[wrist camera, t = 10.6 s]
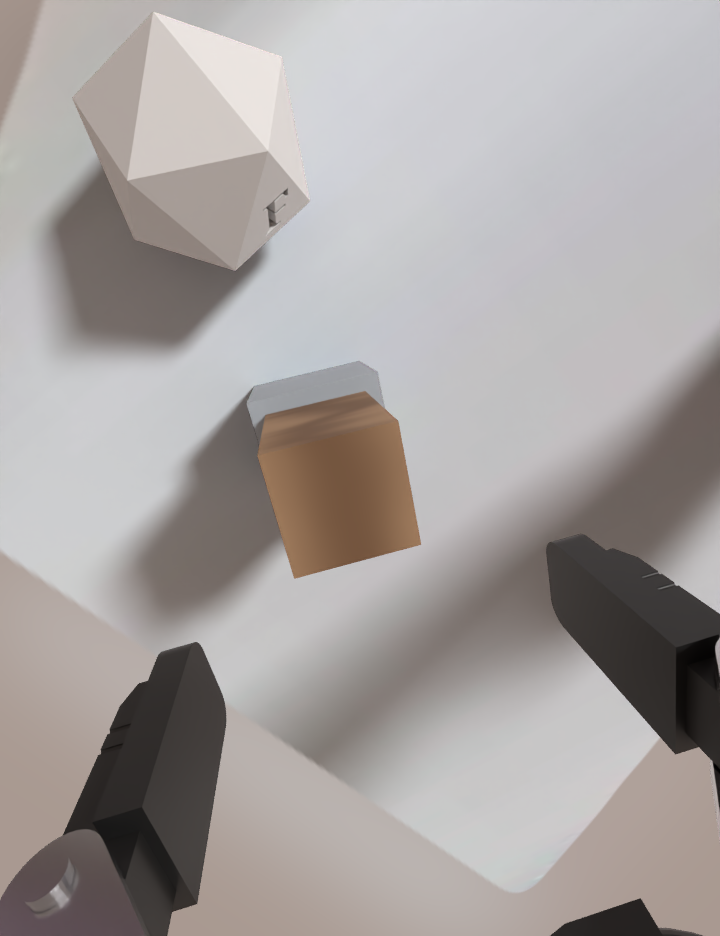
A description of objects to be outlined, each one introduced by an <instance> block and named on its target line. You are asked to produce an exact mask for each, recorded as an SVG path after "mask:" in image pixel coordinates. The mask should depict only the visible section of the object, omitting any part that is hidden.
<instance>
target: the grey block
mask: <svg viewBox="0 0 720 936" xmlns="http://www.w3.org/2000/svg"><path fill="white" fill-rule="evenodd" d="M363 391H366V392H367V393H368V394H369V395H370V396H371V397H372V398H374V399H375V400H376V401H377V402H378V403H379V404H380V405H381V406H382V407H383V408H385V407H384V402H383V397H382V392H381V387H380V382H379V377H378V372H377V371H376V370H374V369H372V368H370V367H369V366H367V365H365V364H364V363H362V362H360V361H357V362H352V363H348V364H344V365H340V366H336V367H332V368H327V369H323V370H319V371H315V372H311V373H307V374H302V375H298V376H294V377H290V378H286V379H282V380H277V381H273V382H269V383H265V384H261V385H257V386H254V388H253V390H252V392H251V394H250V396H249V399H248V401H247V403H246V404H247V407H248V410H249V414H250V417H251V420H252V424H253V427H254V430H255V433H256V437H257V440H258V443H259V445H260V440H261V435H262V430H263V425H264V420H265V415H267V414H271V413H275V412H279V411H283V410H288V409H292V408H296V407H300V406H304V405H309V404H313V403H317V402H321V401H325V400H329V399H334V398H338V397H342V396H346V395H350V394H355V393H359V392H363Z"/></svg>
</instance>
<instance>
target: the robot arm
mask: <svg viewBox="0 0 720 936" xmlns="http://www.w3.org/2000/svg"><path fill="white" fill-rule="evenodd" d="M546 553H547V563H548V572H549V582H550V591H551V600H552V605H553V608H554V611H555V613H556V615H557V617H558V619H559V621H560V623H561V624H562V626H563V627H564V628H565V629H566V630H567V632H568V633H569V634H570V635H571V636H572V637H573V638H574V639H575V641H576V642H577V643H578V644H579V645H580V646H581V647H582V649H583V650H584V651H585V652H586V653H587V654H588V655H589V657H590V658H591V659H592V660H593V661H594V662H595V663H596V665H597V666H598V667H599V668H600V669H601V670H602V671H603V672H604V674H605V675H606V676H607V677H608V678H609V679H610V680H611V682H612V683H613V684H614V685H615V686H616V687H617V688H618V690H619V691H620V692H621V693H622V694H623V695H624V696H625V698H626V699H627V700H628V701H629V702H630V703H631V704H632V706H633V707H634V708H635V709H636V710H637V711H638V712H639V713H640V715H641V716H642V717H643V718H644V719H645V720H646V721H647V723H648V724H649V725H650V726H651V727H652V728H653V729H654V731H655V732H656V733H657V734H658V735H659V736H660V737H661V738H662V740H663V741H664V742H665V743H666V744H667V745H668V747H669V748H670V749H671V750H672V751H673V752H674V753H675V754H678V753H681V752H685V751H687V750H691V749H694V748H697V747H700V749H701V750H702V751H703V752H704V753H705V754H706V755H707V756H708V757H709V758H710V759H711V761H710V774H711V781H712V788H713V796H714V803H715V810H716V818H717V825H718V832H719V840H720V614H719V613H717V612H716V611H715V610H713V609H712V608H710V607H709V606H707V605H706V604H704V603H703V602H702V601H700V600H699V599H697V598H696V597H694V596H693V595H691V594H690V593H689V592H687V591H686V590H684V589H683V588H681V587H680V586H676V585H675V584H674V582H673V581H671V580H670V579H668V578H667V577H666V576H664V575H663V574H659V573H658V571H657V570H655V569H654V568H653V567H651V566H650V565H648V564H647V563H645V562H644V561H642V560H641V559H640V558H638V557H635V556H632V555H630V554H627V553H624V552H621V551H618V550H616V549H609V550H605V549H603V548H602V547H601V546H599V545H598V544H596V543H595V542H594V541H592V540H591V539H590V538H588V537H587V536H585V535H583V534H578V535H575V536H571V537H568V538H564V539H561V540H557V541H554V542H550V543H548V545H547V549H546ZM225 728H226V708H225V702H224V698H223V695H222V693H221V690H220V688H219V686H218V683H217V681H216V679H215V676H214V674H213V672H212V669H211V667H210V665H209V662H208V660H207V658H206V655H205V653H204V651H203V649H202V647H201V645H200V644H199V643H197V642H194V643H191V644H187V645H184V646H180V647H177V648H173V649H170V650H166V651H163V652H161V653H160V654H159V655H158V657H157V659H156V662H155V665H154V667H153V670H152V672H151V675H150V677H149V680H148V681H146V682H142V683H139V684H138V685H137V686H136V687H135V689H134V690H133V691H132V692H131V693H130V695H129V696H128V697H127V698H126V700H125V701H124V702H123V703H122V704H121V706H120V707H119V710H118V712H117V714H116V716H115V719H114V721H113V723H112V725H111V728H110V734H108V735H107V737H106V739H105V741H104V743H103V746H102V748H101V754H100V755H98V757H97V759H96V762H95V764H94V766H93V768H92V771H91V773H90V775H89V777H88V780H87V782H86V785H85V786H84V789H83V791H82V793H81V796H80V798H79V800H78V802H77V804H76V807H75V809H74V812H73V814H72V816H71V818H70V820H69V823H68V825H67V827H66V829H65V832H64V834H63V836H61V837H59V838H57V839H56V840H54V841H52V842H51V843H50V844H48V845H47V846H45V847H44V848H43V849H41V850H40V851H39V852H38V853H37V854H36V855H35V856H33V857H32V858H31V859H30V860H29V861H28V862H27V863H26V864H25V865H24V866H23V867H22V869H21V870H20V871H19V872H18V874H17V875H16V876H15V877H14V879H13V880H12V881H11V883H10V884H9V886H8V887H7V889H6V891H5V892H4V894H3V895H2V897H1V900H0V936H167V934H168V929H169V924H170V919H171V914H172V912H173V911H176V910H179V909H182V908H186V907H189V906H192V905H195V904H197V901H198V895H199V889H200V883H201V877H202V870H203V864H204V858H205V852H206V846H207V840H208V833H209V827H210V821H211V815H212V809H213V802H214V796H215V790H216V784H217V778H218V771H219V765H220V759H221V753H222V746H223V741H224V735H225ZM551 936H702V935H699V934H696V933H692V932H687V931H682V930H676V929H671V928H658V927H657V925H656V923H655V922H654V920H653V918H652V917H651V915H650V913H649V912H648V910H647V908H646V907H645V905H644V903H643V902H642V900H641V899H637V900H635V901H631V902H628V903H625V904H623V905H619V906H616V907H613V908H610V909H607V910H604V911H601V912H599V913H596V914H593V915H590V916H587V917H584V918H581V919H578V920H575V921H572V922H569V923H566V924H564V925H563V926H562V927H561V928H559V929H558V930H557V931H556V932H554V933H553V934H552V935H551Z"/></svg>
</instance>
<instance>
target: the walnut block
mask: <svg viewBox="0 0 720 936" xmlns="http://www.w3.org/2000/svg"><path fill="white" fill-rule="evenodd" d="M257 456H258V459H259V463H260V466H261V469H262V473H263V476H264V479H265V483H266V486H267V489H268V493H269V496H270V499H271V503H272V506H273V509H274V513H275V516H276V519H277V523H278V526H279V529H280V532H281V536H282V539H283V542H284V546H285V549H286V552H287V556H288V559H289V562H290V566H291V569H292V572H293V576H294V579H295V578H299V577H302V576H306V575H310V574H313V573H317V572H321V571H325V570H328V569H332V568H336V567H340V566H343V565H347V564H351V563H354V562H358V561H362V560H366V559H369V558H373V557H377V556H380V555H384V554H388V553H392V552H395V551H399V550H403V549H407V548H410V547H414V546H418V545H421V541H420V536H419V530H418V525H417V520H416V514H415V509H414V503H413V498H412V493H411V487H410V482H409V477H408V471H407V466H406V460H405V455H404V450H403V444H402V439H401V433H400V428H399V423H398V420H397V419H396V418H394V417H393V416H392V415H391V414H390V413H389V412H388V411H387V410H386V409H385V408H383V407H382V406H381V405H380V404H379V403H378V402H377V401H376V400H375V399H374V398H372V397H371V396H370V395H369V394H368V393H367V392H366V391H363V392H359V393H355V394H350V395H346V396H342V397H338V398H334V399H329V400H325V401H321V402H317V403H313V404H309V405H304V406H300V407H296V408H292V409H288V410H283V411H279V412H275V413H271V414H267V415H265V420H264V425H263V430H262V435H261V440H260V445H259V450H258V455H257Z"/></svg>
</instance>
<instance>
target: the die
mask: <svg viewBox="0 0 720 936" xmlns="http://www.w3.org/2000/svg"><path fill="white" fill-rule="evenodd" d="M72 98H73V101H74V103H75V105H76V108H77V110H78V112H79V114H80V117H81V119H82V121H83V124H84V126H85V128H86V131H87V133H88V135H89V137H90V140H91V142H92V144H93V147H94V149H95V151H96V153H97V156H98V158H99V160H100V163H101V165H102V167H103V169H104V172H105V174H106V176H107V179H108V181H109V183H110V185H111V188H112V190H113V192H114V195H115V197H116V199H117V201H118V204H119V206H120V208H121V211H122V213H123V215H124V217H125V220H126V222H127V224H128V227H129V229H130V231H131V233H132V236H133V238H134V240H137V241H140V242H143V243H146V244H150V245H153V246H156V247H159V248H163V249H166V250H169V251H172V252H176V253H179V254H182V255H185V256H188V257H192V258H195V259H198V260H201V261H205V262H208V263H211V264H214V265H218V266H221V267H224V268H227V269H230V270H234V271H236V270H237V269H238V268H239V267H240V266H241V265H242V264H243V263H244V262H246V261H247V260H248V259H249V258H250V257H251V256H252V255H253V254H254V253H255V252H256V251H257V250H258V249H259V248H261V247H262V246H263V245H264V244H265V243H266V242H267V241H268V240H269V239H270V238H271V237H272V236H273V235H274V234H276V233H277V232H278V231H279V230H280V229H281V228H282V227H283V226H284V225H285V224H286V223H287V222H288V221H289V220H291V219H292V218H293V217H294V216H295V215H296V214H297V213H298V212H299V211H300V210H301V209H302V208H303V207H304V206H306V205H307V204H308V203H309V202H310V197H309V192H308V187H307V182H306V177H305V172H304V167H303V161H302V156H301V151H300V146H299V141H298V136H297V131H296V126H295V120H294V115H293V110H292V105H291V100H290V95H289V90H288V85H287V79H286V74H285V69H284V64H283V59H282V57H281V56H278V55H276V54H273V53H270V52H267V51H264V50H261V49H258V48H256V47H253V46H250V45H247V44H244V43H241V42H238V41H236V40H233V39H230V38H227V37H224V36H221V35H218V34H216V33H213V32H210V31H207V30H204V29H201V28H198V27H196V26H193V25H190V24H187V23H184V22H181V21H178V20H176V19H173V18H170V17H167V16H164V15H161V14H159V13H156V12H152V13H151V14H150V15H149V16H148V18H147V19H146V20H145V21H144V22H143V23H142V24H141V25H140V26H139V27H138V28H137V29H136V30H135V31H134V32H133V33H132V35H131V36H130V37H129V38H128V39H127V40H126V41H125V42H124V43H123V44H122V45H121V46H120V47H119V48H118V49H117V51H116V52H115V53H114V54H113V55H112V56H111V57H110V58H109V59H108V60H107V61H106V62H105V63H104V64H103V65H102V66H101V68H100V69H99V70H98V71H97V72H96V73H95V74H94V75H93V76H92V77H91V78H90V79H89V80H88V81H87V82H86V84H85V85H84V86H83V87H82V88H81V89H80V90H79V91H78V92H77V93H76V94H75V95H74V96H73V97H72Z"/></svg>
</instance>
